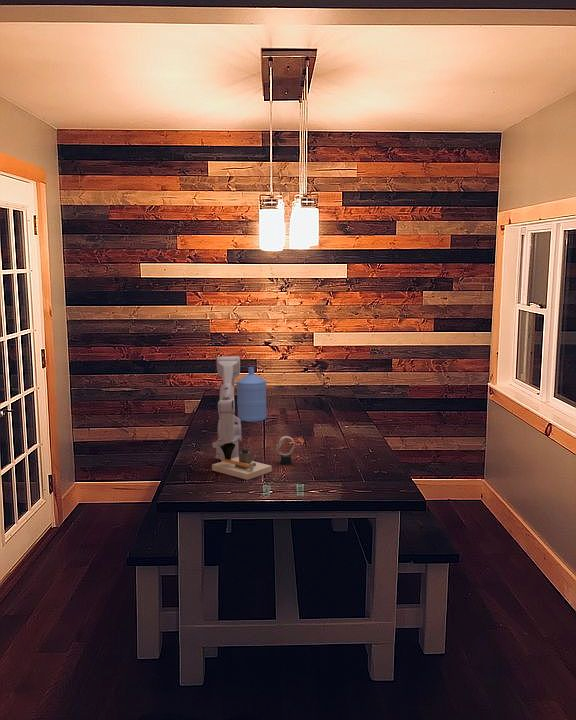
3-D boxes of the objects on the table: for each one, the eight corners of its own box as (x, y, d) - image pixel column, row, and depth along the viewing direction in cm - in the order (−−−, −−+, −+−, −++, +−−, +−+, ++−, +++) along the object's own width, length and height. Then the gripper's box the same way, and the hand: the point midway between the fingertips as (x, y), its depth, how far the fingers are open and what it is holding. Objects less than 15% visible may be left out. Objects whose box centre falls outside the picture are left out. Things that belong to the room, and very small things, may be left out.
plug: (235, 472, 277) (234, 449, 276) (245, 468, 282) (244, 446, 280) (245, 475, 273) (245, 451, 272) (256, 471, 278) (255, 448, 277)
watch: (276, 460, 293) (275, 435, 291) (295, 460, 293) (294, 435, 291) (276, 464, 287) (275, 438, 286) (295, 464, 287) (295, 438, 286)
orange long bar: (220, 463, 280) (220, 457, 280) (223, 462, 281) (223, 456, 281) (251, 470, 270) (251, 464, 270) (254, 468, 272) (254, 462, 271)
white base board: (212, 470, 280) (212, 464, 280) (236, 462, 291) (236, 457, 290) (247, 479, 267) (247, 474, 267) (271, 471, 278) (271, 465, 277)
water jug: (266, 422, 362) (265, 369, 358) (236, 422, 363) (234, 369, 358) (267, 415, 378) (266, 365, 374) (238, 415, 378) (237, 365, 374)
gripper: (220, 433, 270) (221, 467, 272) (246, 426, 281) (247, 459, 283) (208, 430, 274) (209, 464, 276) (234, 424, 285) (235, 455, 287)
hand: (227, 461), depth 280 cm, fingers closed, pressing on orange long bar
